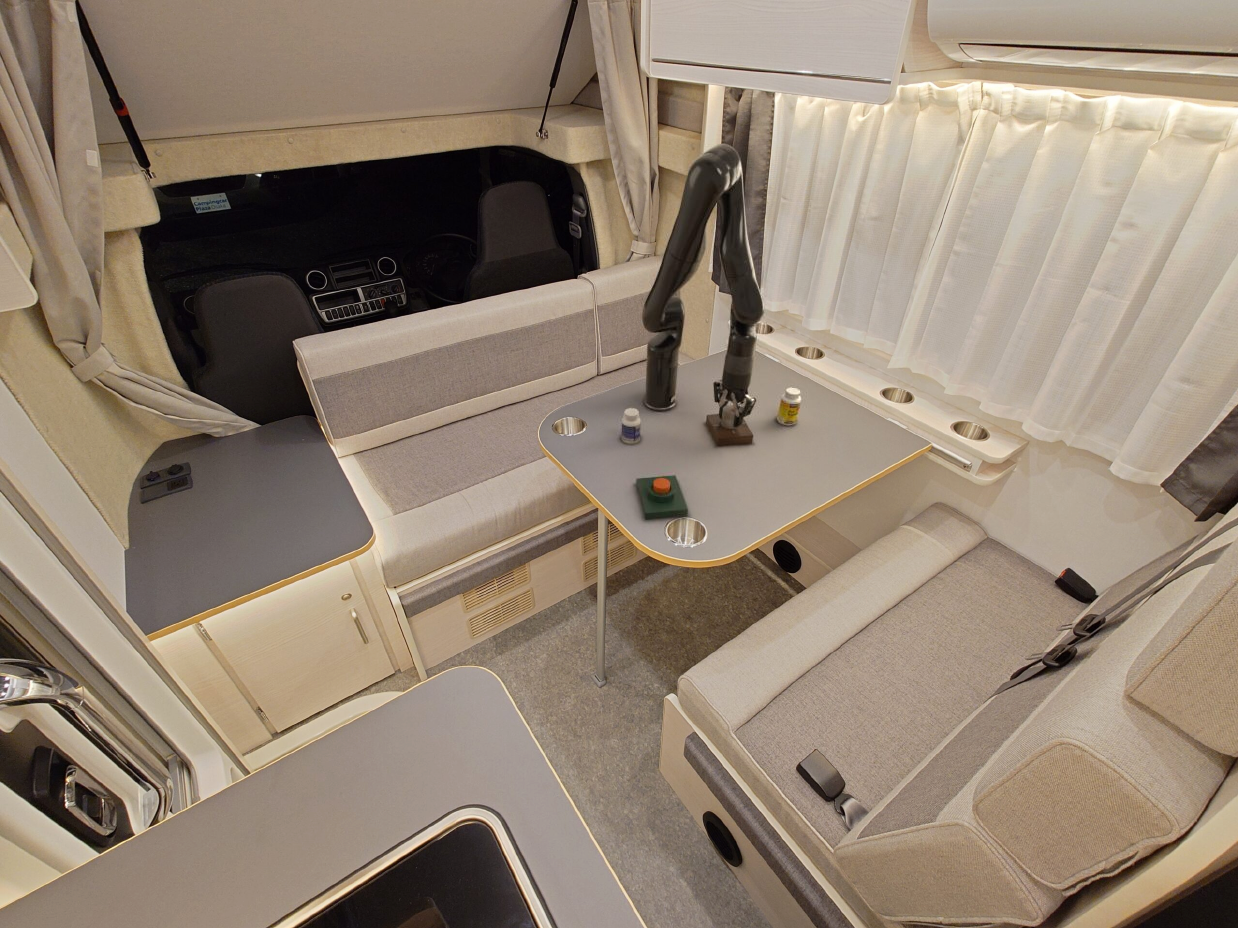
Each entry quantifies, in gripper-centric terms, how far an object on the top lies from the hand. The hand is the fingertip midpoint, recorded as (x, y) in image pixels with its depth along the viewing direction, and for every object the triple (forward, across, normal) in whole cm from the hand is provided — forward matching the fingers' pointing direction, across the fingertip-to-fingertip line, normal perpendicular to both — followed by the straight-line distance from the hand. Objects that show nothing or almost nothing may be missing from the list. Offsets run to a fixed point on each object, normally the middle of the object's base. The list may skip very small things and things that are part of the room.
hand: (729, 421), depth 157 cm
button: (+1, -10, +34) cm, 36 cm away
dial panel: (+4, 0, 0) cm, 4 cm away
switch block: (+4, -10, +34) cm, 36 cm away
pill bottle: (+4, +14, +24) cm, 28 cm away
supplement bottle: (+4, -6, -19) cm, 20 cm away
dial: (+1, 0, 0) cm, 1 cm away
